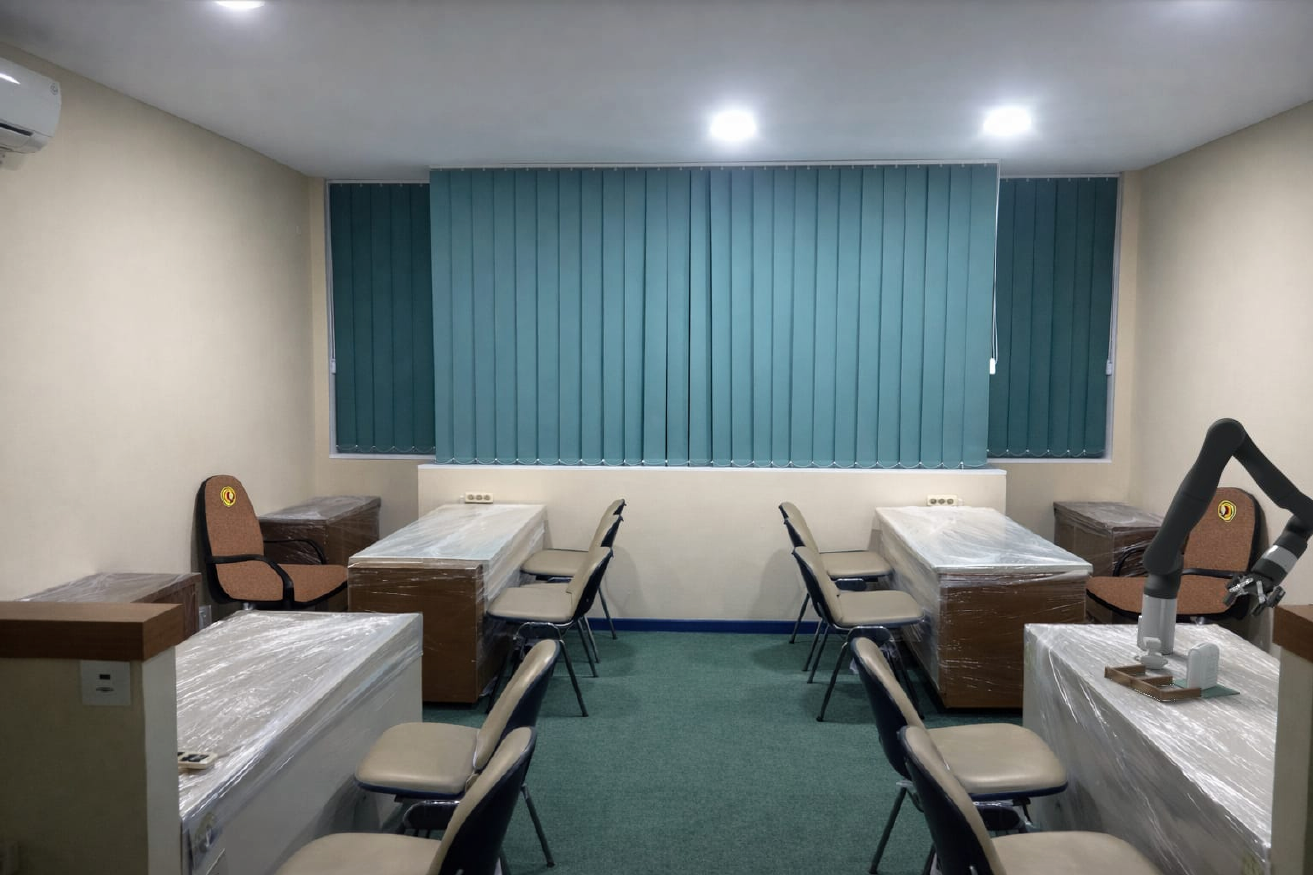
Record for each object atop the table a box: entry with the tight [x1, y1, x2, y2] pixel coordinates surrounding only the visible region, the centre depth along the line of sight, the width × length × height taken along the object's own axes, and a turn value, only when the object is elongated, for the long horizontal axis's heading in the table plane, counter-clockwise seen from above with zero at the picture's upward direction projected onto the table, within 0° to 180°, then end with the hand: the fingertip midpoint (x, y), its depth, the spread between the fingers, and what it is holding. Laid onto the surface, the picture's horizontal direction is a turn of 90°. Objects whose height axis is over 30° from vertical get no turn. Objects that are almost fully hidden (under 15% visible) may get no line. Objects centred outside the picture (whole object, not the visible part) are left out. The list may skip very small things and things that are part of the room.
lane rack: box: [1104, 663, 1202, 701], centre depth 244 cm, size 19×14×3 cm
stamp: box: [1133, 637, 1169, 671], centre depth 260 cm, size 9×7×8 cm
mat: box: [1172, 678, 1241, 699], centre depth 244 cm, size 12×12×1 cm
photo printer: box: [1185, 641, 1220, 690], centre depth 243 cm, size 10×4×12 cm, turn 121°
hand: (1238, 610), depth 248 cm, fingers open, 8 cm apart
